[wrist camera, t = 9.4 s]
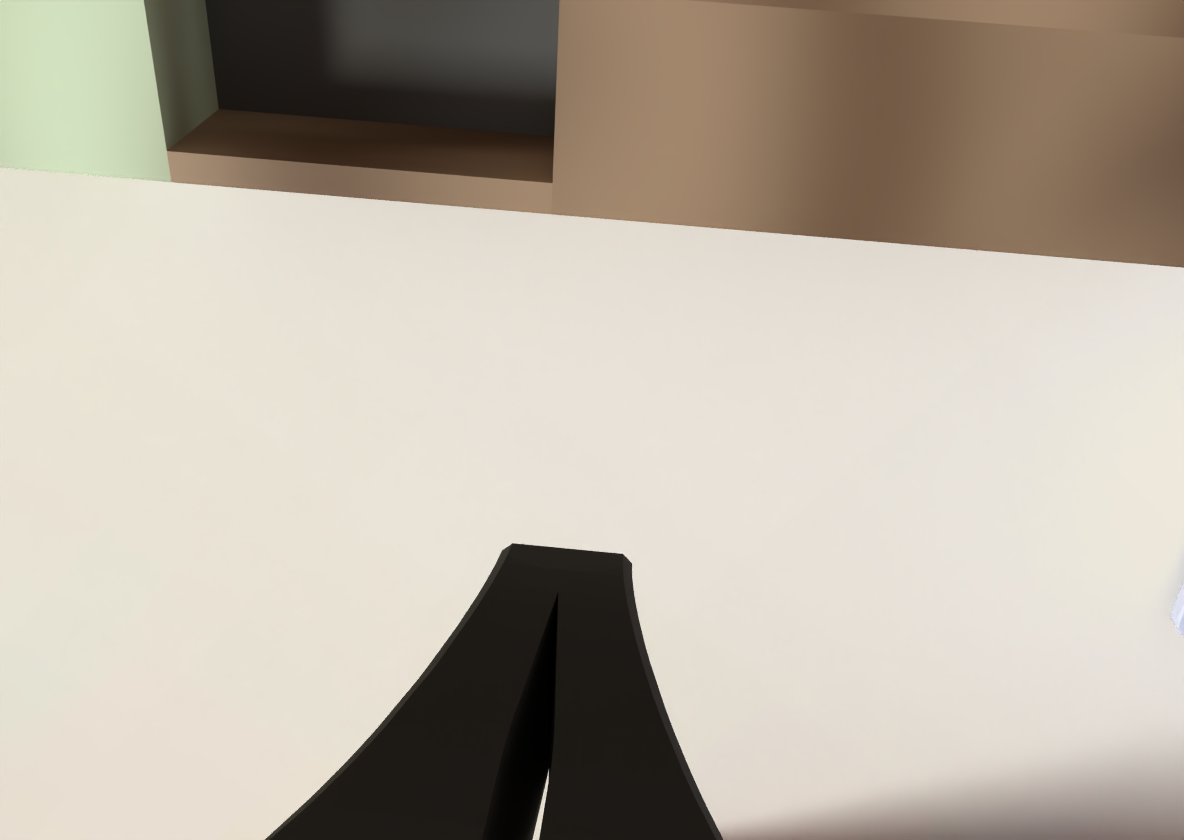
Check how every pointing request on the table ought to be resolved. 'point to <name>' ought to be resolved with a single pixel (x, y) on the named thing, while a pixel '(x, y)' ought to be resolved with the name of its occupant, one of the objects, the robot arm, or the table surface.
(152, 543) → the table surface
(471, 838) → the robot arm
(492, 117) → the trap board
